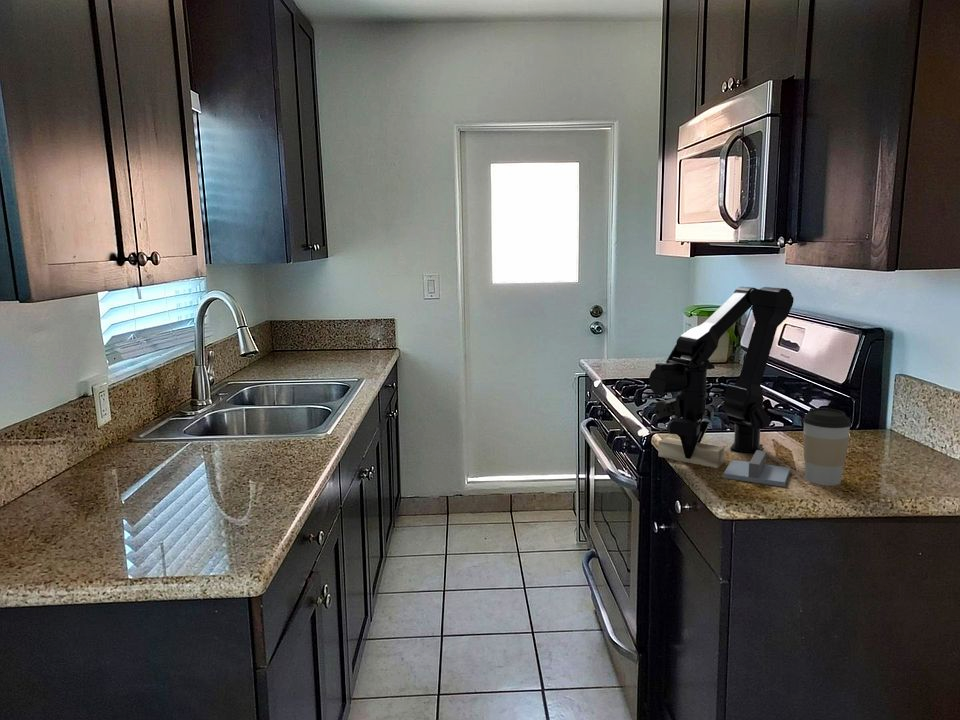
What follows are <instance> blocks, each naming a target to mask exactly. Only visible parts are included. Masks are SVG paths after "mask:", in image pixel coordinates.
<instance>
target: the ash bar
mask: <svg viewBox="0 0 960 720" xmlns="http://www.w3.org/2000/svg"><path fill="white" fill-rule="evenodd" d="M658 457H660V458H664V459H669V460H674V461H680V462H685V463H689V464H695V465H699V464H700V466H705V467H709V466H710V467H709V468H715V469H718V468H719V467H721V466H723V465H724V464H725V447H724V446H719V445H713V444H707V443H704V442H703V443H701V442H700V443H697V445H696V447H695V449H694V452H693V454H692V456H691V458H690V459H687V458H685V454H684V450H683V446H682V442H681V439H680V438H674V437H668V436H666V437H664V438H661V439H660V440H658Z"/></svg>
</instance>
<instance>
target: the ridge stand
mask: <svg viewBox="0 0 960 720" xmlns="http://www.w3.org/2000/svg"><path fill="white" fill-rule="evenodd" d="M766 463H767V451H766V450H761V451H760V450H756V452H755V453H753V456H752V458H751V459H750V461H745V460H744V461H743V460H736V459H731V461H730V463H729V464H728V465H727V467H726V469H725V471H724V472H723V477H722V478H724V479H729V480H736V481H742V482H750V483H757V484H763V485H770V486H774V487H775V486H776V487H782V488H785V487H786V483H787V482H788V479H789V476H790V474H791V467H789V466H788V467H787V466H780V465H773V464H766Z"/></svg>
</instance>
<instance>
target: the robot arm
mask: <svg viewBox="0 0 960 720" xmlns="http://www.w3.org/2000/svg"><path fill="white" fill-rule="evenodd" d="M794 300H795V299H794V296H793V294H792V292H791V291H790V289H788V288H781V287H770V286H769V287H768V286H763V287H761V288H756V287H751V286H739V287H737V288H736V289H735V290H734V291H733V294H732V295H731V296H730V297H728V299H727V300H726V301H725V302H723V304H722V305H721V306H719V307H718V308H717V310H715V311H714V312H713V313H712V314H711V315H710V316H709V317H708V318H706V320H705V321H703V323H701V324H699V325H697V326H694V327H692V328H689V329H688V330H686V331H685V332H684V333H682V334H681V335H680V336H678V339H676V344H675V346H674V347H673V349H672V350H671V352H670V354H669V356H668V358H667V359H666V360H665V362H666V363H665V362H664V363H662V362H658V363H655V364H654V365H655V366H654V367H655V368H653V370H651V372H650V374H649V377H648V384H649V387H650V389H651V391H652V393H654V394H655V395H665V394H674V393H677V394H676V395H675V397H674V398H670V399H666V400H665V399H662V400H661V401H659V400H657V401H656V402H655V404H654V405H653V406H652V410H653V411H652V414H654V415H655V416H656V419H658V420H660V419H662V418H665V417H668V416H674V418H673V420H672V421H670V422H669V423H668V424H667V433H668V435H677V436H678V437H679V439H680V440H681V442H682V446H683V450H684V454H685V458H687V459H690V458H691V456H692V454H693V452H694V449H695V447H696V445H697V443H701V442H702V439H703V438H704V436H705V434H706V431H707V430H708V428H709V426H710V423H711V422H710V421H711V420H713V419H714V417H715V416H714V415H715V409H714V408H713V407H712V406H711V405H707V404H706V399H708V397H709V396H708V395H709V393H708V392H707V374H708V370H714V369H715V365H714V364H712V363H711V361H710V360H709V359H710V358H711V357H712V355H713V354H714V353H715V351H716V350H717V349H718V347H719V341H720V339H721V337H723V335H724V334H725V333H726V332H727V331H729V329H730V328H731V327H732V326H733V325H735V324H736V323H737V321H738V320H739V319H741V317H743V316H744V315H745V314H746V313H747V311H748V310H750V309H751V308H752V309H751V312H752V315H753V319H754V325H753V330H752V333H751V336H750V339H749V343H748V347H747V350H746V353H745V357H744V360H743V364H742V367H741V370H740V373H739V377H738V380H737V381H736V382H735V383H734V384H733V385H732V384H727V386H726V388H725V392H724V397H723V398H722V400H721V401H722V402H723V404H722V409H723V410H724V413H725V415H726V420H727V422H731V423H734V440H733V441H734V442H733V443H732V445H731V446H730V448H729V449H730V451H736V452H742V453H752V454H755V452H756V450H760V451H762V449H763V448H764V447H763V446H764V445H763V444H761V430H763V429H766V428H768V427H769V426H770V423H771V419H772V418H771V417H770V416H769V414H768V413H767V412H766V411H765V409H764V408H763V404H764V400H765V399H764V395H763V394H764V393H763V391H762V387H761V384H762V382H763V378H764V374H765V371H766V367H767V364H768V360H769V357H770V353H771V350H772V347H773V343H774V341H775V337H776V333H777V330H778V327H779V326H780V325H781V324H782V323H783V322H784V321H785V320H787V318H788V317H789V314H790V312H791V310H792V307H793V304H794ZM705 417H707V418H708V420H710V421H706V420H705V419H704V418H705Z"/></svg>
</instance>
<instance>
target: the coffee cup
mask: <svg viewBox="0 0 960 720" xmlns="http://www.w3.org/2000/svg"><path fill="white" fill-rule="evenodd" d="M802 422H803V431H802V435H803V437H802V440H803V459H804V478H805V480H806V481H807V482H809V483H811V484H815V485H821V486H827V487H829V486H839V485H840V484H841V482H842V478H843V471H844V465H845V463H846V457H847V454H848V453H847V452H848V448H849V442H850V428H851V426H852V422H851V418H850V417H848V416H847V415H846V413H845V412H844V411H841V410H840V409H835V408H834V409H833V408H824V407H822V408H821V407H820V408H813V407H810V408H809V410H808V413H805V414H804V416H803V419H802Z"/></svg>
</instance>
